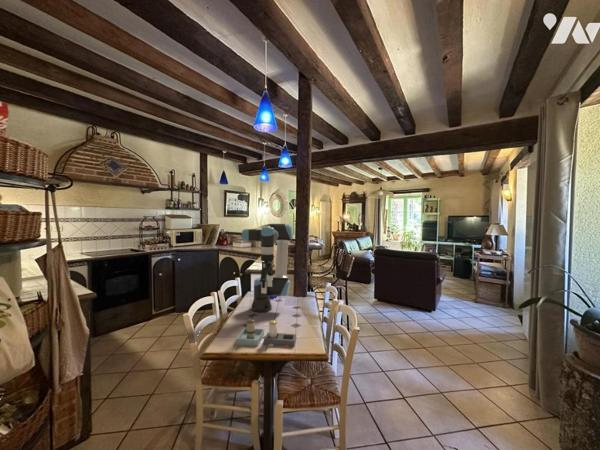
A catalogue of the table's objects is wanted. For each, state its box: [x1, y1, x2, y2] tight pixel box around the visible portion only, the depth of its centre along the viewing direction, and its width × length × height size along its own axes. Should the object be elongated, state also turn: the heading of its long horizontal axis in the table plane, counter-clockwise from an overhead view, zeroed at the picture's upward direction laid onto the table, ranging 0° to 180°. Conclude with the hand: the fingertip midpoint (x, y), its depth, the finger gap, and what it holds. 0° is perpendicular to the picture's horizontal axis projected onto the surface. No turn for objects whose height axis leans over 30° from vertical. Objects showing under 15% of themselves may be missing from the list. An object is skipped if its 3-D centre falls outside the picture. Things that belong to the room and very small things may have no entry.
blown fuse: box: [246, 318, 256, 339], centre depth 142 cm, size 4×4×10 cm
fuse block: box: [263, 331, 297, 348], centre depth 139 cm, size 9×16×3 cm, turn 84°
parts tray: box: [235, 327, 265, 347], centre depth 142 cm, size 14×12×3 cm
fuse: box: [268, 319, 278, 339], centre depth 140 cm, size 4×4×10 cm
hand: (266, 289), depth 150 cm, fingers open, 13 cm apart
